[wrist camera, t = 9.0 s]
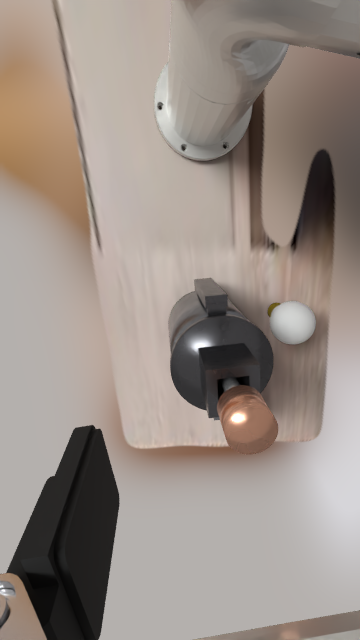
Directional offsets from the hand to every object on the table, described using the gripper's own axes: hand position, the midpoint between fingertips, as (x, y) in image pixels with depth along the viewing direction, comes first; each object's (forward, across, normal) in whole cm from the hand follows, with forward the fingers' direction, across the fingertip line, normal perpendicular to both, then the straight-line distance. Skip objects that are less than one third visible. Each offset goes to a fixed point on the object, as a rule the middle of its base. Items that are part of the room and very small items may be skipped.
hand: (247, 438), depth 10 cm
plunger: (+21, -2, +9) cm, 23 cm away
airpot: (+38, -2, +10) cm, 39 cm away
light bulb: (+38, -14, +9) cm, 41 cm away
